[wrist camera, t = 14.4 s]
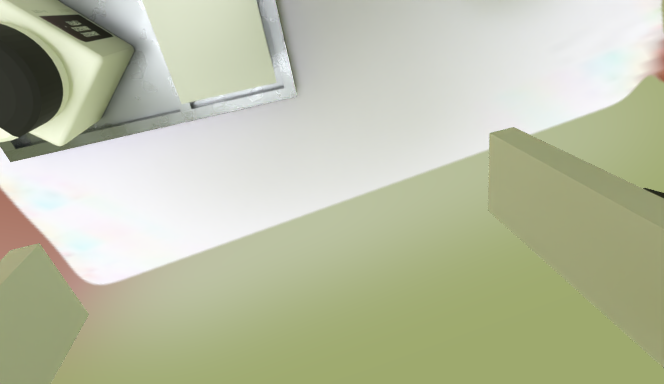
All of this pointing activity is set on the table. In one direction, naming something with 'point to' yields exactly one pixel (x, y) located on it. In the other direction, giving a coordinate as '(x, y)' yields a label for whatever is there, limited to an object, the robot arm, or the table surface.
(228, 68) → the filler block
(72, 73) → the container
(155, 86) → the rack tray
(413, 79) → the table surface
